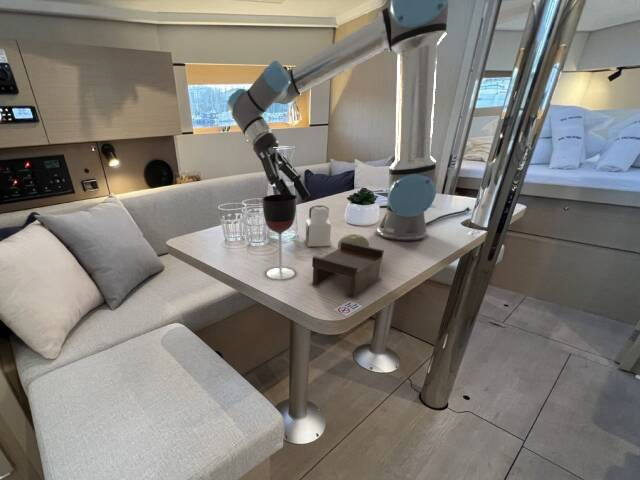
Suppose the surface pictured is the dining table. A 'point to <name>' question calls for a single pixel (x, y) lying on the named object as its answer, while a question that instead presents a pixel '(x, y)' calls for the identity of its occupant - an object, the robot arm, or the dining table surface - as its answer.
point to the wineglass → (279, 225)
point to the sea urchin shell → (354, 240)
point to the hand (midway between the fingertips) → (299, 199)
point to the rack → (349, 266)
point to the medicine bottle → (318, 227)
